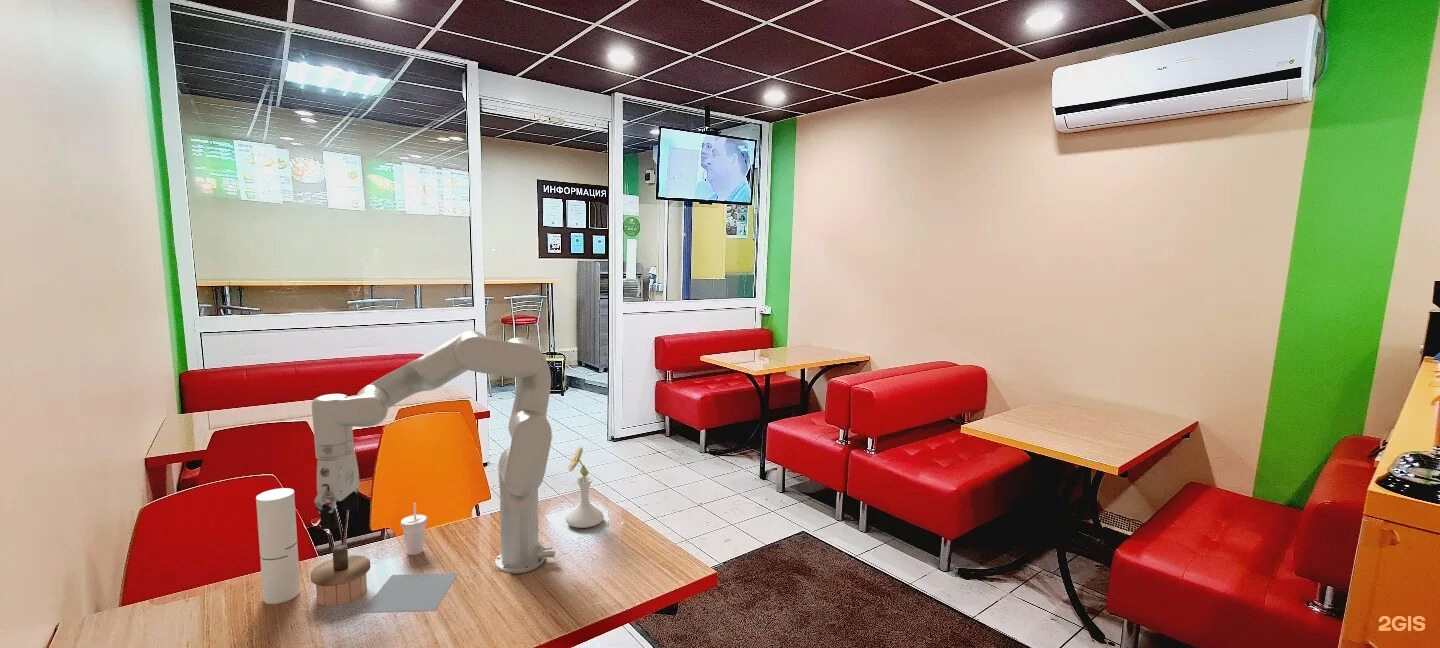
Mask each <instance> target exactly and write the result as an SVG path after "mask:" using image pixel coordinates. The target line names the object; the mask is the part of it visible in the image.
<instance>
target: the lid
mask: <svg viewBox="0 0 1440 648" xmlns="http://www.w3.org/2000/svg"><path fill="white" fill-rule="evenodd" d="M348 551H349V549H348V545H346V544H340V545H339V544H338V545H336V546H334V547H333V548H332V559H329V560H326V561H324V562H322V563H320V564H318V565H317V566H316V567H314V568H313V569H312V571H311V572H310V581H311V583H312V584H314V585H315V586H316V585H320V586H334V585H340V584H344V583H348V582H351V581H353V580H356V579H358V578H360V577H362V576H363V575H365V574H366V575H367V573H368V572H369V571H370V569H371V560H370V559H369V558H368V557H366V556H364V555H359V554H357V555H354V554H353V555H349V552H348Z"/></svg>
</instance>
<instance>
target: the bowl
mask: <svg viewBox="0 0 1440 648" xmlns="http://www.w3.org/2000/svg"><path fill="white" fill-rule="evenodd" d="M367 581H368V580H367V573H366V574H365V575H363V576H362V577H360V578H358V579H356V580H353V581H351V582H348V583H344V584H340V585H334V586H320V585H316V584H315V591H316V603H317V604H318V605H321V606H323V607H339V606H342V605H346V604H349V603H353V602H355V601H357V600H358V599H360V598H362V597H363V596H364V594H366V592H367V591H368V586H367Z"/></svg>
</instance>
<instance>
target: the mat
mask: <svg viewBox="0 0 1440 648" xmlns="http://www.w3.org/2000/svg"><path fill="white" fill-rule="evenodd" d="M458 573H459V572H458ZM458 573H457V572H456V573H453V572H452V573H421V574H420V573H419V574H418V573H416V574H415V573H413V574H391V576H389V578H388V579H387V580H386V581H385V583H384V584H383V585H382V587H381V588H380V589H379V590H378V592H377V593H375V595H374V596H373V597H372V599H371V600H370V602H369V603H368V604H367V605H366V606H365V607H364V609H363V610H362V611H361V613H362V614H367V613H368V614H369V613H370V614H371V613H374V614H375V613H394V612H395V613H401V612H403V613H405V612H433V611H434V612H436V611H437V608H438V606H439V605H440V603H441V602H442V600H443V599H444V597H445V596H446V594H447V592H448V591H449V589H450V588H451V586H452V584H453V582H454V581H455V580H456V578H457V576H458Z"/></svg>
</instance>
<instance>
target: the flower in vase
mask: <svg viewBox="0 0 1440 648" xmlns="http://www.w3.org/2000/svg"><path fill="white" fill-rule="evenodd" d="M583 449H584V448H583V447H582V446H579V447H578V449H575V452H574V455H573V457H571V459H570V461H571V462H570V464H568V466H567V468H569V469H568V471H570V472H572V471H573V470H575V468H576V467H577V465H578V464H579V463H580V465H581V468H580V469H579V470H580V471H579V472H580V474H581V475H582V476H580V477H578V478H576V479H575V481H576V482H577V484H578V486H579V489H580V501H579V504H577V505H576V506H575V507H573V509H571V510H570V511H569V512H568V513H566V516H565V522H566V523H567V524H568V525H569V526H571V527H574V528H581V529H583V528H590V527H594V526H597V525H598V524H600V523H602V521H603V520H604V516H605V515H604V514H603V512H602V510H600V509H599V508H598V507H596V506H595V505H593V504H592V503H591V502H590V499H589V494H590V493H589V491H590V487H591V483H592V482H593V481H594V478H593V477H591V476H588V475H589V470H588V469H587V468H586V465H584V464H583V463H582V461H581V457H582V455H583V451H584V450H583Z"/></svg>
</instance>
